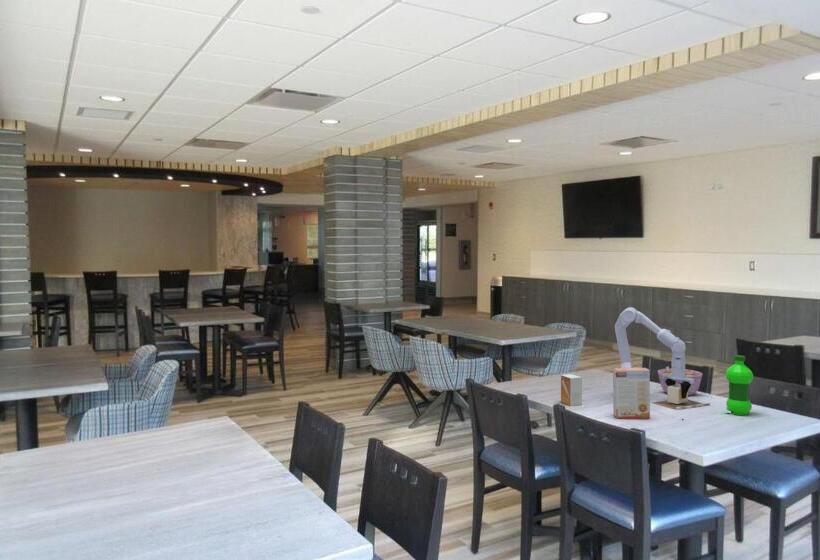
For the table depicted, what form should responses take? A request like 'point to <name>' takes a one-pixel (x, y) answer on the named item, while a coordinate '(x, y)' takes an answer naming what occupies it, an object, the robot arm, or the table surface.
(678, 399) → the carton
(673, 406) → the shelf board
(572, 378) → the small box
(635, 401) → the cracker box
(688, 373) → the bowl of food
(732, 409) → the plastic bottle
